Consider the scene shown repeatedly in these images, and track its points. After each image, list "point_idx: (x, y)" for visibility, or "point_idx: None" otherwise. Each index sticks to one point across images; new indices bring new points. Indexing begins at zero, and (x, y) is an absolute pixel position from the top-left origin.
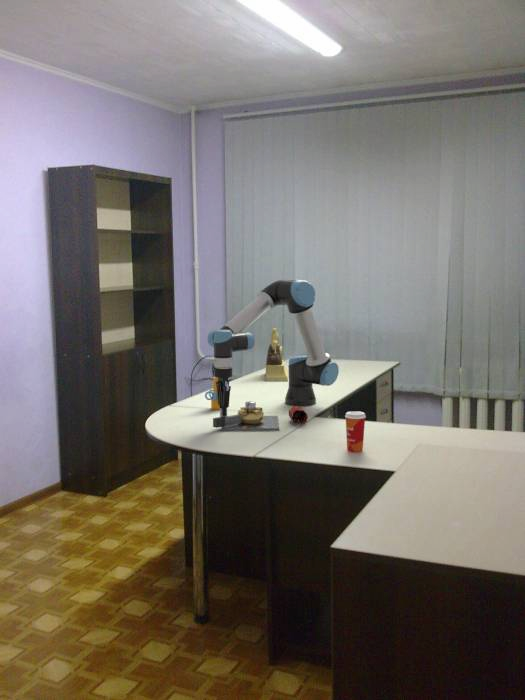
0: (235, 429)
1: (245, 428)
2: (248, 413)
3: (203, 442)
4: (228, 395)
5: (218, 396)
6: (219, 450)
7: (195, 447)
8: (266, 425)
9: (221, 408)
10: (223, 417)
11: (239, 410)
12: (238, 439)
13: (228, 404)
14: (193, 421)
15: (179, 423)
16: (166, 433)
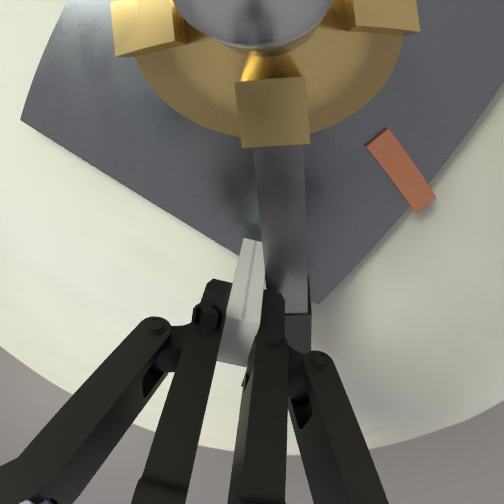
0: (379, 236)
1: (435, 197)
2: (304, 54)
3: (410, 408)
4: (371, 485)
5: (129, 422)
6: (500, 397)
7: (427, 431)
8: (442, 17)
9: (246, 360)
10: (296, 318)
11: (253, 142)
12: (494, 308)
13: (337, 383)
14: (50, 284)
15: (73, 340)
16: (212, 430)
